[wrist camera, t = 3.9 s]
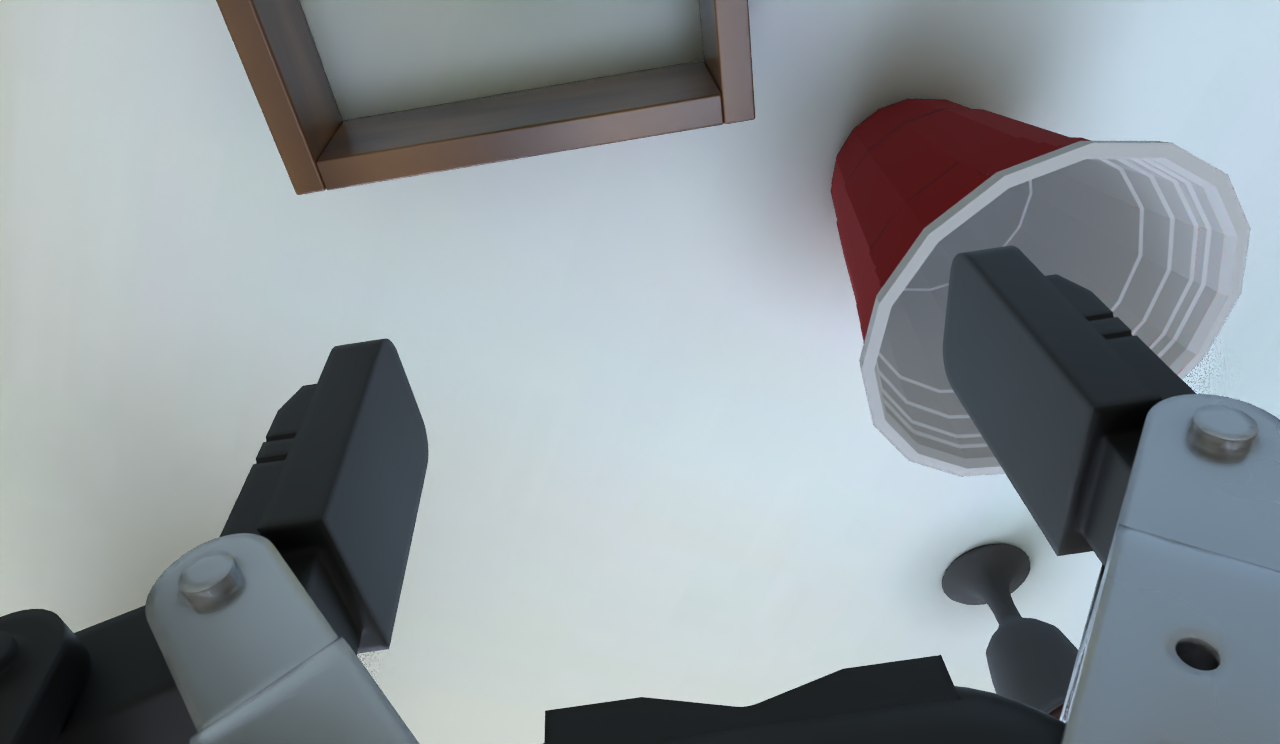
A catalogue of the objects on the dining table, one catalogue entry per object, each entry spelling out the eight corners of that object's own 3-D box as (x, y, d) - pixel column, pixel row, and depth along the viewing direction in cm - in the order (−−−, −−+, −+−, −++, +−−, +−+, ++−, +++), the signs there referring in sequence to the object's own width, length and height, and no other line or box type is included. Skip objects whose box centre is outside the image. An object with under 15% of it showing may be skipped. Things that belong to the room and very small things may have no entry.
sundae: (902, 598, 47) (1020, 881, 35) (976, 519, 44) (1134, 803, 31) (992, 623, 49) (1133, 899, 37) (1068, 550, 46) (1252, 827, 33)
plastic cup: (966, 314, 36) (1116, 508, 26) (734, 267, 34) (803, 461, 24) (1104, 65, 30) (1364, 197, 20) (834, -11, 28) (980, 95, 18)
